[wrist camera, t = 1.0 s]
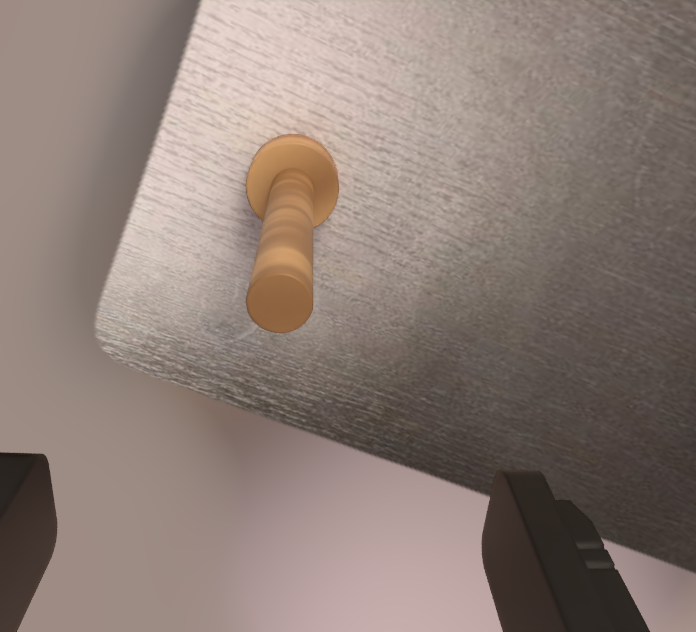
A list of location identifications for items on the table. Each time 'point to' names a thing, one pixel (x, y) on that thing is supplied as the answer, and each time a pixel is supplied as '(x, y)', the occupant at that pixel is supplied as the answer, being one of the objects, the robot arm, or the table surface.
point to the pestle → (287, 227)
